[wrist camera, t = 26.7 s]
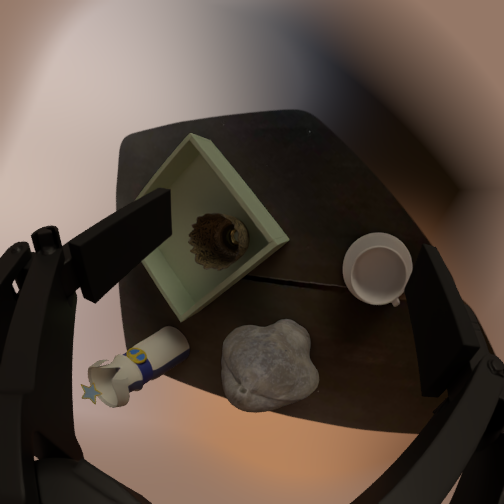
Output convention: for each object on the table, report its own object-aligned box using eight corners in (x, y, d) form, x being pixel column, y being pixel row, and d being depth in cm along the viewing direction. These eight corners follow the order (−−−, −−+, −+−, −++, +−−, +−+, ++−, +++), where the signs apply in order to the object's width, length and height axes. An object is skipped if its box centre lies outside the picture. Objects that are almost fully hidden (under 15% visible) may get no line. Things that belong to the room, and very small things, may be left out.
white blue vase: (160, 315, 53) (56, 366, 30) (194, 338, 50) (92, 406, 27) (154, 346, 55) (61, 399, 32) (185, 368, 52) (95, 435, 30)
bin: (290, 240, 40) (277, 244, 35) (200, 311, 48) (180, 322, 43) (210, 139, 43) (189, 132, 38) (141, 220, 51) (118, 222, 46)
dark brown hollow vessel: (263, 212, 40) (239, 214, 33) (261, 263, 42) (237, 275, 34) (218, 210, 43) (188, 211, 36) (216, 257, 44) (187, 266, 37)
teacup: (329, 259, 38) (324, 265, 34) (386, 217, 34) (389, 218, 30) (366, 315, 37) (366, 328, 33) (424, 278, 33) (430, 287, 29)
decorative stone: (339, 339, 39) (321, 399, 26) (312, 387, 42) (285, 449, 29) (251, 299, 44) (199, 338, 30) (234, 349, 47) (184, 395, 33)
